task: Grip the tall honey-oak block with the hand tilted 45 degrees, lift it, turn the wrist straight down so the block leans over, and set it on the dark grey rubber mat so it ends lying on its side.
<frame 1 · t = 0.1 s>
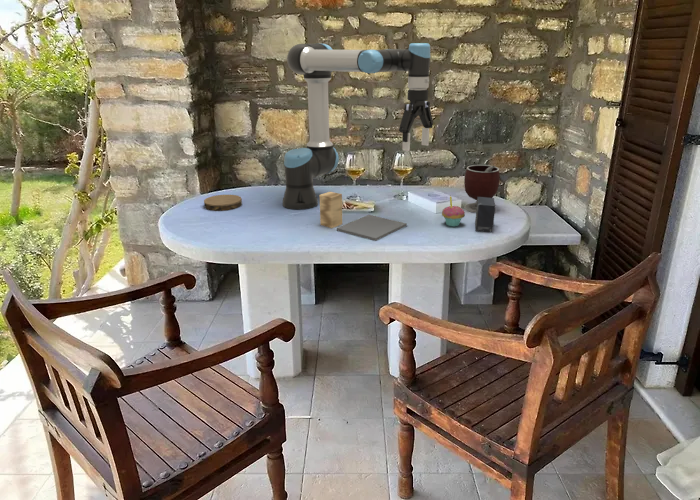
hand: (415, 148, 194), 28 cm above the table, tool pointing down, fingers open, 13 cm apart
mate gourd: (480, 209, 215), on the table
oak block: (331, 224, 199), on the table
mat: (372, 228, 195), on the table
small box: (483, 228, 194), on the table
cupcake: (452, 224, 198), on the table
wood slice: (223, 206, 224), on the table
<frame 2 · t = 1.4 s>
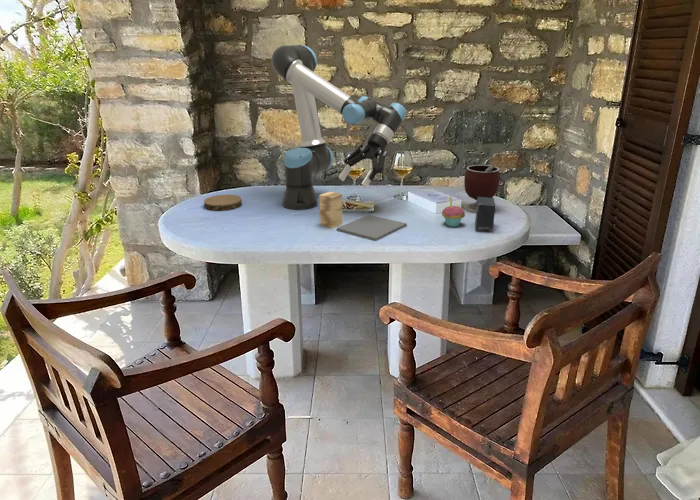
hand: (351, 182, 200), 15 cm above the table, tool tilted 45°, fingers open, 13 cm apart
nothing on the table moved.
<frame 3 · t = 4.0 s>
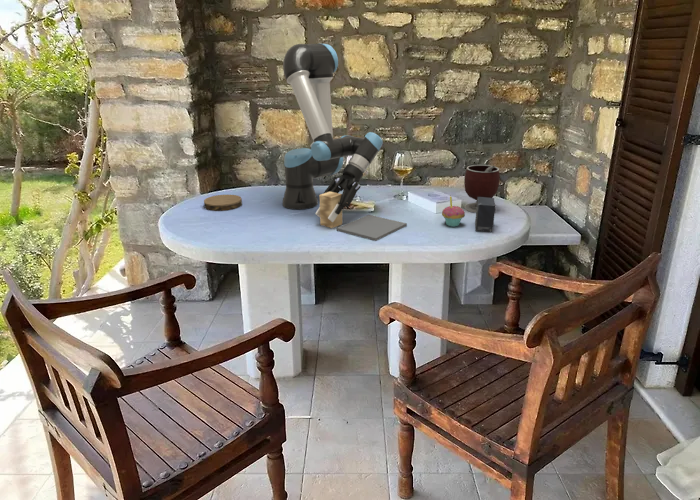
hand: (324, 217, 195), 4 cm above the table, tool tilted 45°, fingers closed on oak block, 7 cm apart
oak block: (331, 224, 199), on the table, touching gripper
everything else where it was.
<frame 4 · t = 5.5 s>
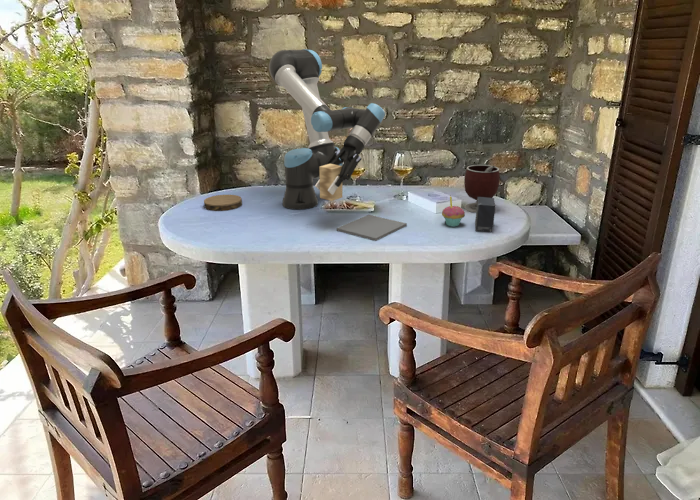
hand: (323, 190, 191), 14 cm above the table, tool tilted 45°, fingers closed on oak block, 7 cm apart
oak block: (331, 197, 195), point 11 cm above the table, touching gripper
everything else where it was.
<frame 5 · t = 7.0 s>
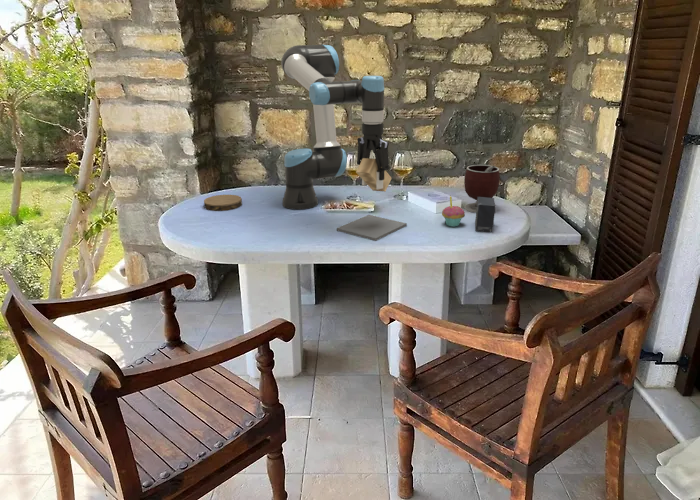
hand: (372, 186, 189), 16 cm above the table, tool pointing down, fingers closed on oak block, 7 cm apart
oak block: (382, 184, 192), point 16 cm above the table, tilted 45°, touching gripper
everything else where it was.
when the fingers open (5 cm above the table, at t = 9.3 s): oak block drops 1 cm and tips over, resting on mat.
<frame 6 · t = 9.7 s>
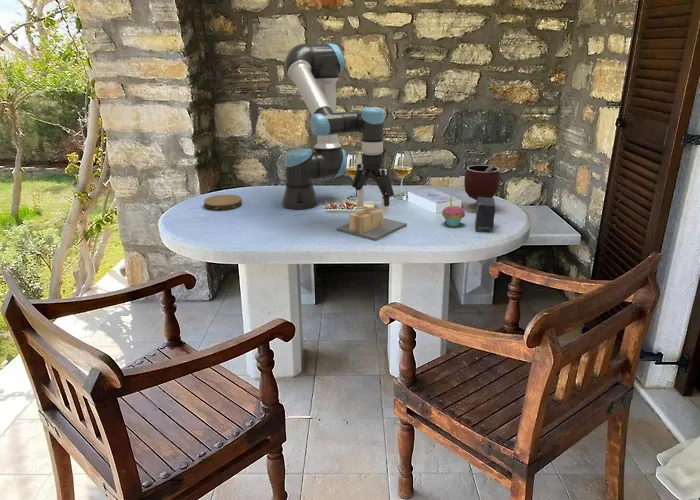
hand: (372, 210, 192), 7 cm above the table, tool pointing down, fingers open, 12 cm apart
oak block: (377, 216, 195), point 4 cm above the table, tilted 90°, touching mat
everything else where it was.
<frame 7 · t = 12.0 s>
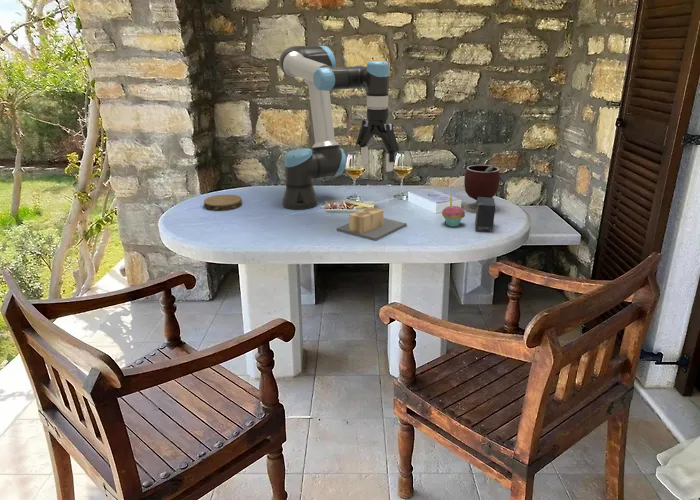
hand: (376, 167, 189), 22 cm above the table, tool pointing down, fingers open, 13 cm apart
nothing on the table moved.
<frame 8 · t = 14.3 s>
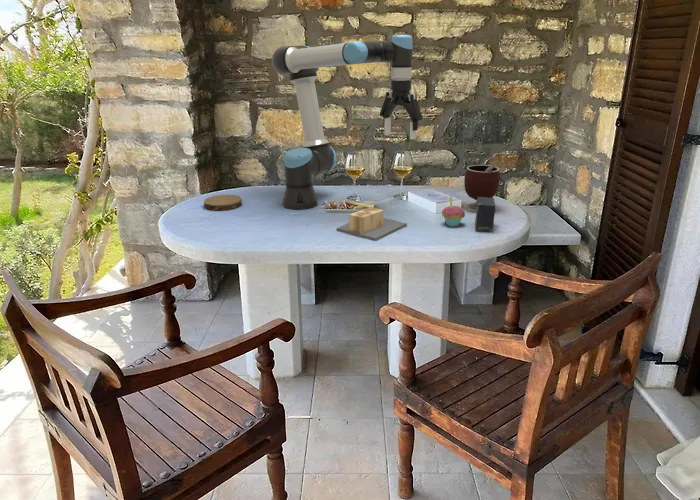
hand: (399, 137, 201), 31 cm above the table, tool pointing down, fingers open, 13 cm apart
nothing on the table moved.
at the end: oak block tilted 90°; oak block touching mat; the gripper is holding nothing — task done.
